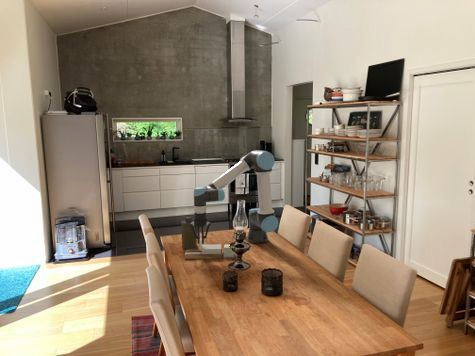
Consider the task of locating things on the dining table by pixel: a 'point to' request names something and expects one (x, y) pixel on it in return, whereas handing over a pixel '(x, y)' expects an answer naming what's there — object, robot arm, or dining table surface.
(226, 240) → the dining table surface
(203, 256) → the runners
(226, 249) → the stop block
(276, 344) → the dining table surface
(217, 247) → the slab
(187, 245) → the canister
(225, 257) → the pad
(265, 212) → the robot arm
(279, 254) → the dining table surface
